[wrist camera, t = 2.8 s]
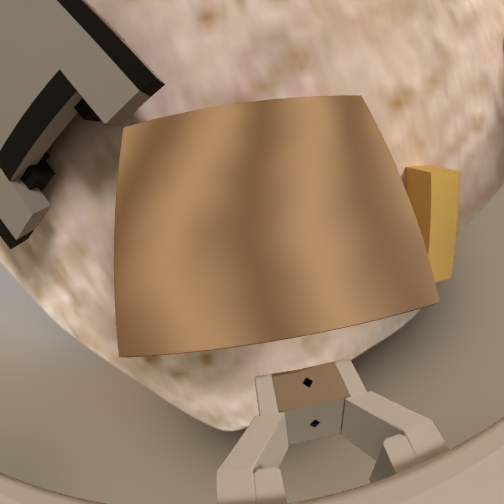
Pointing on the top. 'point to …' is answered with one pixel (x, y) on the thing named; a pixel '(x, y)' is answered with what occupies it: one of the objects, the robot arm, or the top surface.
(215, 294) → the box lid
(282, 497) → the robot arm
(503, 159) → the top surface
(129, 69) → the game console
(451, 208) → the yellow block
